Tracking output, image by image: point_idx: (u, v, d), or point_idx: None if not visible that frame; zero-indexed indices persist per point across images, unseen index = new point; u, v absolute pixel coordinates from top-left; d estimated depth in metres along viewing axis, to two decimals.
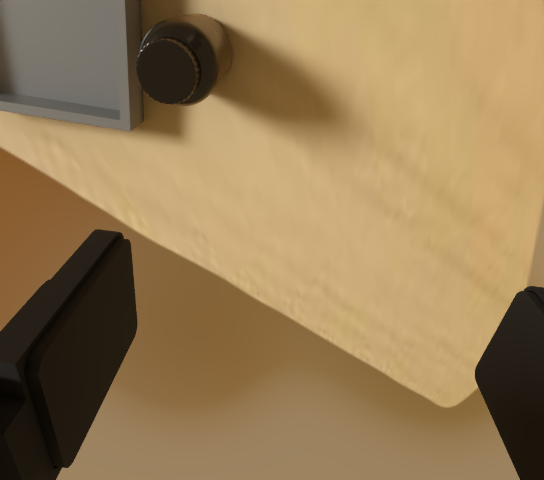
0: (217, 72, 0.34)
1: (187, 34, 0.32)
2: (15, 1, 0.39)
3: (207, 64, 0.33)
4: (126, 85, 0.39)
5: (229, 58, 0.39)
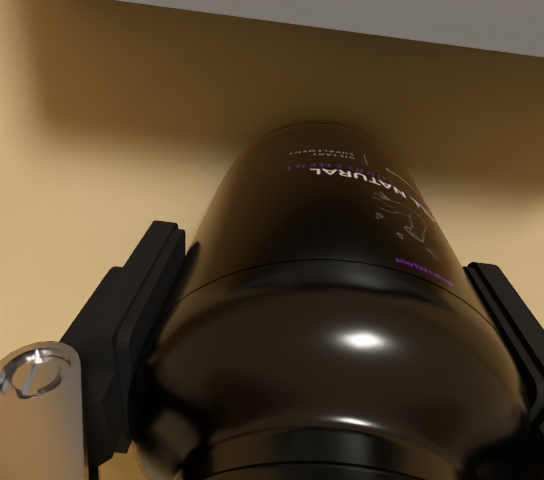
0: None
1: None
2: None
3: None
4: None
5: None
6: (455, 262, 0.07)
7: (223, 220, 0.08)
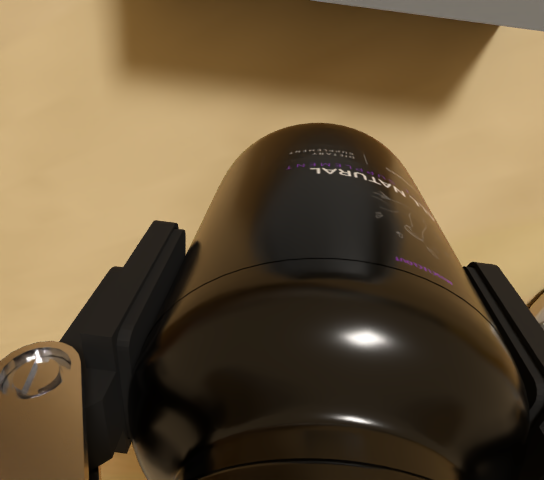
0: None
1: None
2: None
3: None
4: None
5: None
6: (455, 261, 0.07)
7: (224, 219, 0.08)
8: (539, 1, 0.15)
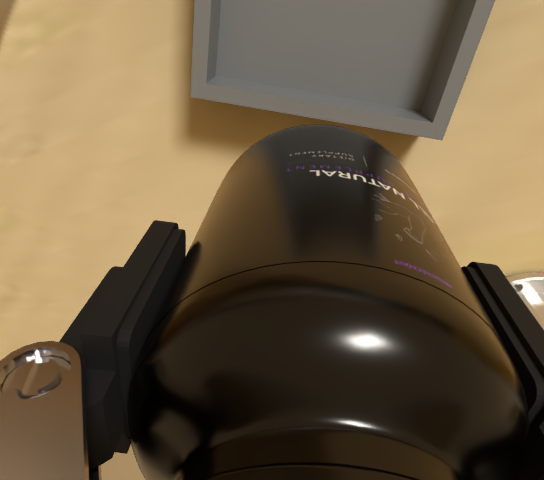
0: None
1: None
2: None
3: None
4: (258, 105, 0.27)
5: None
6: (454, 264, 0.07)
7: (223, 222, 0.08)
8: (436, 124, 0.26)
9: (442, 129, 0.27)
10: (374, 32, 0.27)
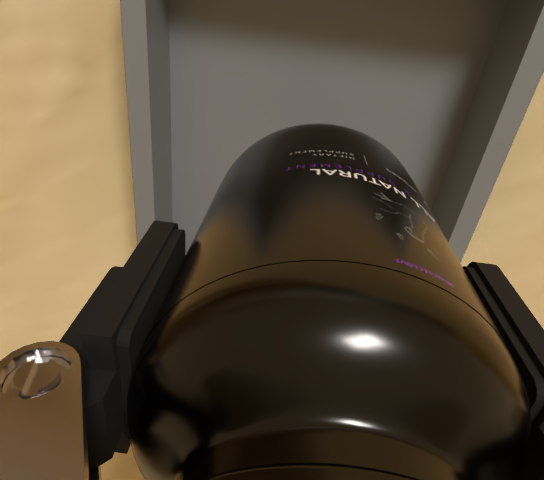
0: None
1: None
2: (348, 90, 0.20)
3: None
4: None
5: None
6: (455, 263, 0.07)
7: (223, 221, 0.08)
8: None
9: None
10: None
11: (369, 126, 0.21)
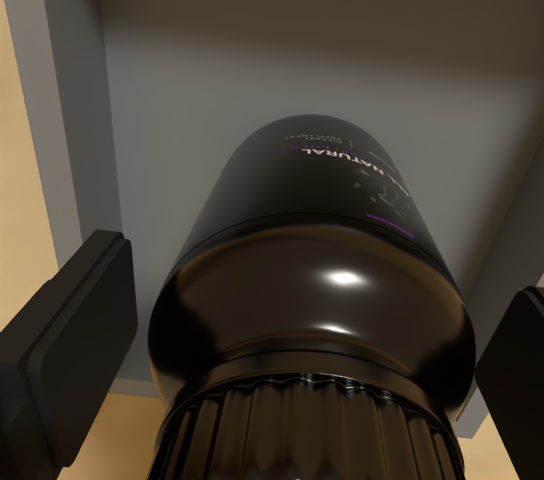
0: None
1: None
2: (364, 124, 0.14)
3: None
4: None
5: None
6: (421, 225, 0.09)
7: (228, 191, 0.09)
8: (463, 423, 0.17)
9: (473, 428, 0.17)
10: None
11: None
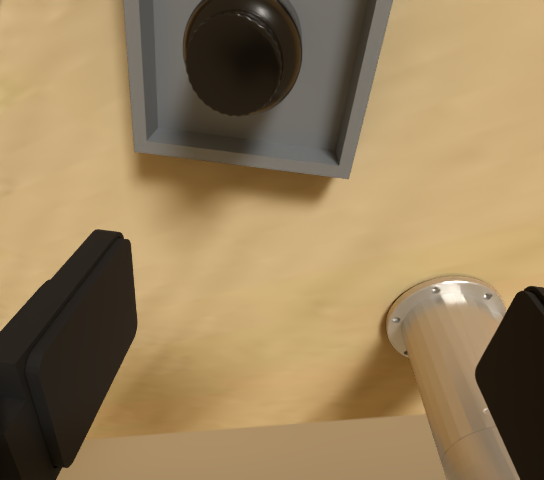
0: None
1: (284, 82, 0.22)
2: None
3: None
4: (192, 156, 0.32)
5: None
6: (286, 4, 0.23)
7: None
8: (342, 167, 0.32)
9: (348, 170, 0.32)
10: None
11: None
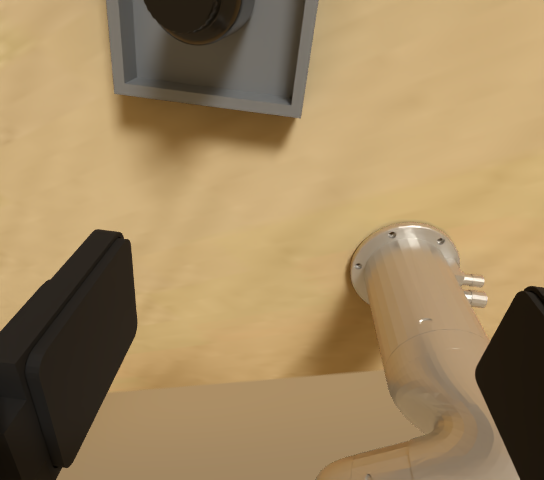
0: (191, 44, 0.29)
1: (227, 11, 0.27)
2: None
3: (197, 35, 0.28)
4: (164, 98, 0.36)
5: None
6: None
7: None
8: (294, 106, 0.36)
9: (299, 110, 0.36)
10: (247, 40, 0.36)
11: None
